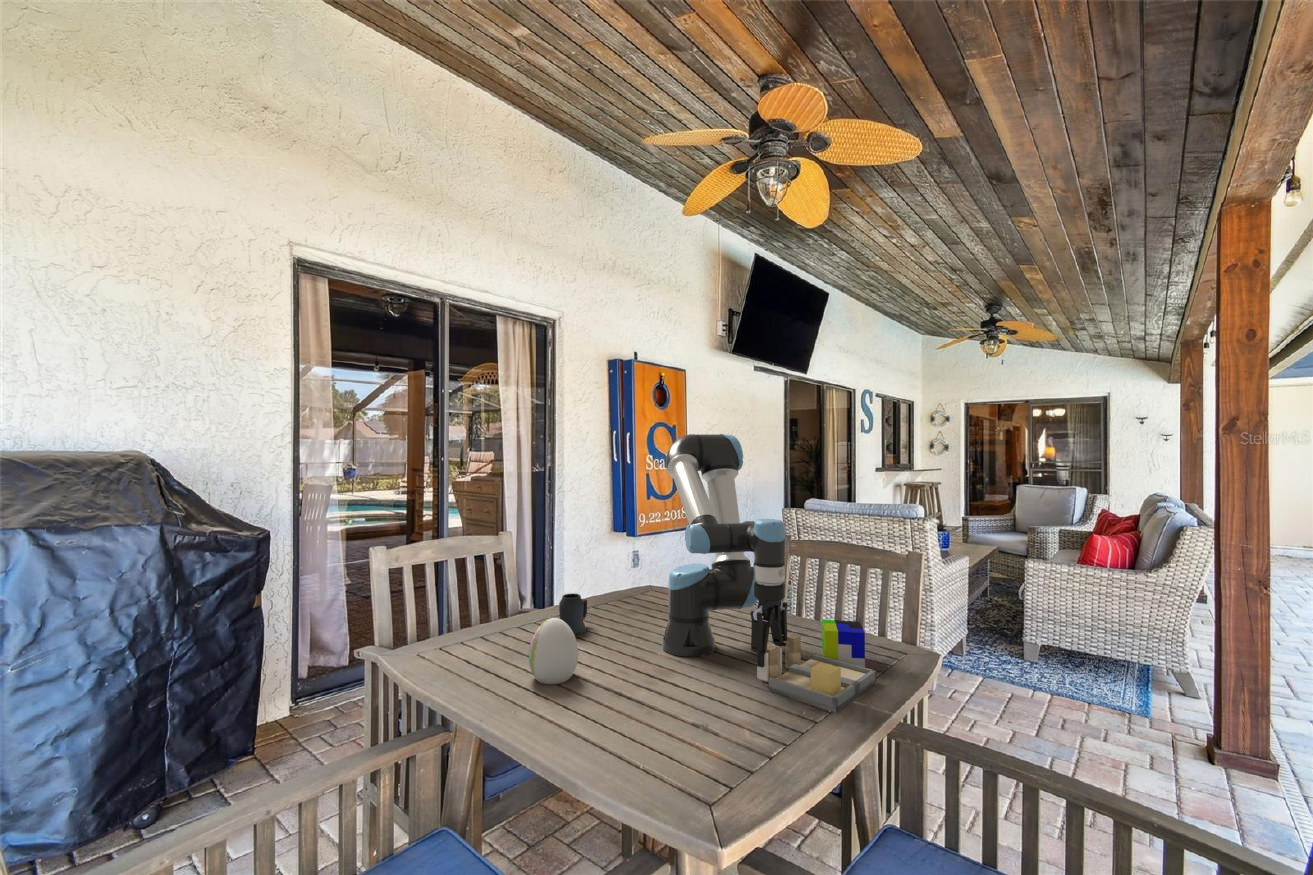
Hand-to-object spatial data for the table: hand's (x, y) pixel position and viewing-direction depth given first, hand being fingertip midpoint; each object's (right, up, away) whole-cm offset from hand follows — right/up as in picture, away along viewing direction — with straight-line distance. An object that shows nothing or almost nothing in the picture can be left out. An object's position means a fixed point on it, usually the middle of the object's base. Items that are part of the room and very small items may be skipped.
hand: (769, 675), depth 147 cm
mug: (-54, -2, +40) cm, 67 cm away
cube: (+11, +1, -10) cm, 15 cm away
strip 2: (+6, -1, -6) cm, 8 cm away
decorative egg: (-54, -2, +2) cm, 54 cm away
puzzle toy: (+22, -2, +12) cm, 25 cm away
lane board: (+12, -1, -4) cm, 13 cm away
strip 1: (+11, -1, +6) cm, 12 cm away
